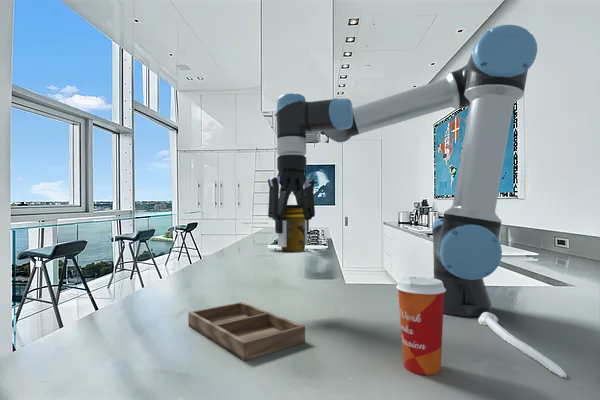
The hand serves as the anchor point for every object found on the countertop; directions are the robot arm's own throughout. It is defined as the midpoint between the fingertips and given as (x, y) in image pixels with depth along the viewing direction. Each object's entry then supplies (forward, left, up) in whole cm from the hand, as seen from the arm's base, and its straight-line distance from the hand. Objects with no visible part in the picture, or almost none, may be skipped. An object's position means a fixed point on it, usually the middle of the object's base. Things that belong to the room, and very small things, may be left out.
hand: (292, 245), depth 90 cm
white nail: (-45, -19, -17) cm, 52 cm away
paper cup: (-39, +4, -17) cm, 43 cm away
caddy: (-6, +18, -17) cm, 25 cm away
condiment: (0, +1, -2) cm, 2 cm away
